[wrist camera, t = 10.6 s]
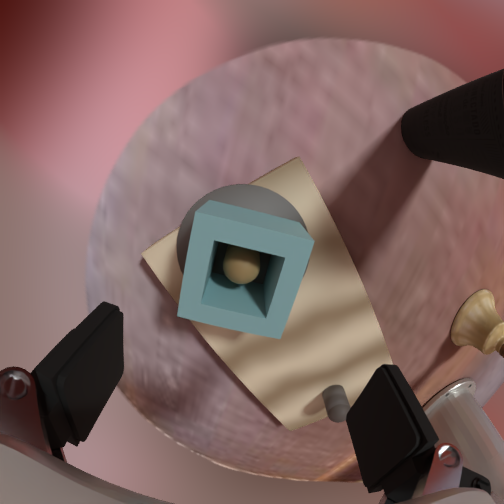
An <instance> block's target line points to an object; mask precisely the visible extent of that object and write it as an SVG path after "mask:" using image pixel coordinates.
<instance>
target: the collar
mask: <svg viewBox="0 0 504 504" xmlns="http://www.w3.org/2000/svg"><path fill="white" fill-rule="evenodd" d="M218 242H223V243H227V244H231V245H236V246H240V247H244V248H248V249H252V250H256V251H260V252H264V253H269V254H272V255H271V259H270V262H269V266H268V269H267V272H266V276H265V279H264V283H263V284H260V283H255V282H249V283H247V284H237V283H234V282H232V281H231V280H229V279H228V278H227V276H225V275H221V274H217V273H213V272H212V269H213V264H214V260H215V255H216V251H217V246H218ZM314 242H315V241H314V240H313V238H312V237H311V236H310V235H309V233H308V232H307V231H306V230H305V229H304V227H303V226H302V225H301V224H300V222H296V221H292V220H289V219H285V218H281V217H277V216H273V215H270V214H266V213H262V212H258V211H254V210H250V209H246V208H242V207H238V206H233V205H229V204H225V203H221V202H217V201H212V200H209V201H207V202H206V203H205V204H204V205H203V206H201V207H200V208H199V209H198V210H197V211H195V216H194V221H193V226H192V231H191V236H190V241H189V246H188V252H187V257H186V263H185V269H184V275H183V281H182V287H181V293H180V300H179V306H178V313H177V316H178V317H182V318H186V319H190V320H194V321H198V322H202V323H206V324H210V325H214V326H218V327H223V328H227V329H232V330H236V331H241V332H246V333H250V334H255V335H260V336H266V337H271V338H276V339H281V336H282V333H283V331H284V328H285V325H286V323H287V320H288V317H289V315H290V312H291V309H292V306H293V304H294V301H295V298H296V295H297V292H298V290H299V287H300V284H301V281H302V278H303V275H304V272H305V269H306V266H307V263H308V260H309V257H310V254H311V251H312V248H313V245H314Z"/></svg>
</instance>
